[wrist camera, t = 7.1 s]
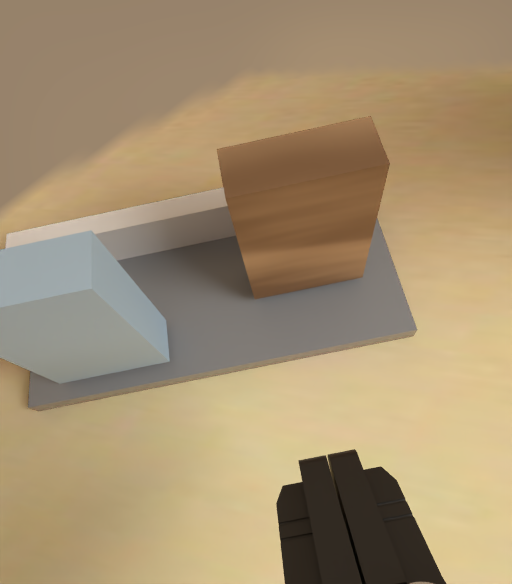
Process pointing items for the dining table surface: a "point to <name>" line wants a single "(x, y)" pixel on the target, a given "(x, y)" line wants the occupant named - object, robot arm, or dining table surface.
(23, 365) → the light blue block
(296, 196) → the brown wooden block
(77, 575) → the dining table surface
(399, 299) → the base
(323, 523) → the robot arm
